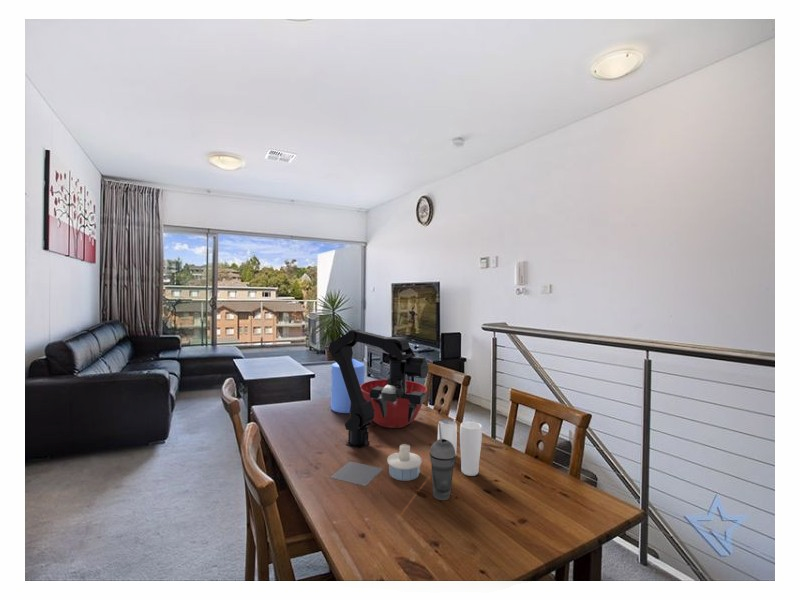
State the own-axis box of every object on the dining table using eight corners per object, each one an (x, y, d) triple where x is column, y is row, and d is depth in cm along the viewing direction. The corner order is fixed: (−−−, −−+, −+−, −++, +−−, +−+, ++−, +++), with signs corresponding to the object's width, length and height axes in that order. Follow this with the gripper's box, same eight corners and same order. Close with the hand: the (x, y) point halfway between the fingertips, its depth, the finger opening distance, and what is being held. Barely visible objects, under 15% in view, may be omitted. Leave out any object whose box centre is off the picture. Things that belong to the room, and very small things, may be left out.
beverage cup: (447, 506, 102) (450, 430, 102) (423, 497, 106) (425, 425, 106) (459, 494, 109) (461, 422, 108) (435, 486, 112) (437, 417, 112)
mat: (329, 478, 116) (329, 477, 116) (350, 462, 127) (350, 461, 127) (365, 487, 111) (365, 486, 111) (383, 469, 122) (383, 468, 122)
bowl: (384, 477, 117) (384, 464, 117) (396, 465, 125) (396, 453, 125) (412, 484, 113) (413, 470, 113) (423, 471, 122) (423, 458, 122)
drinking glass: (482, 469, 124) (483, 423, 123) (479, 479, 117) (480, 430, 117) (460, 466, 126) (462, 420, 125) (456, 475, 119) (458, 427, 119)
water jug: (354, 415, 173) (356, 353, 173) (324, 411, 179) (325, 350, 178) (369, 406, 188) (370, 348, 187) (340, 402, 193) (341, 346, 193)
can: (455, 460, 130) (456, 425, 130) (436, 458, 131) (437, 423, 131) (456, 452, 136) (457, 418, 136) (438, 450, 137) (439, 417, 137)
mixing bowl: (437, 420, 170) (438, 385, 170) (403, 440, 146) (404, 400, 146) (384, 408, 185) (385, 376, 185) (345, 425, 161) (346, 388, 161)
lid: (381, 465, 116) (382, 449, 116) (395, 452, 126) (395, 437, 126) (414, 472, 112) (414, 455, 112) (425, 458, 122) (426, 443, 122)
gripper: (362, 376, 129) (361, 423, 129) (415, 382, 122) (413, 432, 122) (377, 370, 139) (376, 413, 140) (426, 375, 132) (425, 421, 132)
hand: (396, 420), depth 133 cm, fingers open, 9 cm apart
